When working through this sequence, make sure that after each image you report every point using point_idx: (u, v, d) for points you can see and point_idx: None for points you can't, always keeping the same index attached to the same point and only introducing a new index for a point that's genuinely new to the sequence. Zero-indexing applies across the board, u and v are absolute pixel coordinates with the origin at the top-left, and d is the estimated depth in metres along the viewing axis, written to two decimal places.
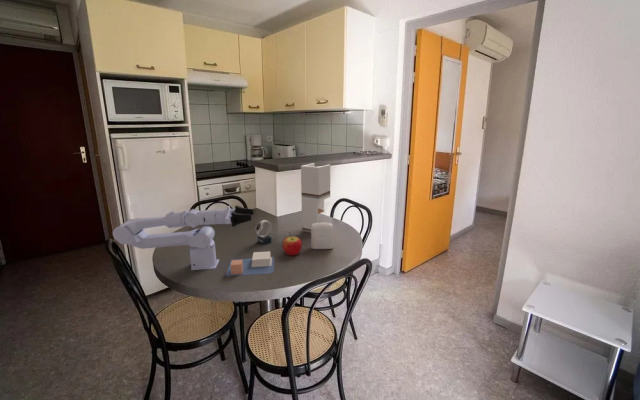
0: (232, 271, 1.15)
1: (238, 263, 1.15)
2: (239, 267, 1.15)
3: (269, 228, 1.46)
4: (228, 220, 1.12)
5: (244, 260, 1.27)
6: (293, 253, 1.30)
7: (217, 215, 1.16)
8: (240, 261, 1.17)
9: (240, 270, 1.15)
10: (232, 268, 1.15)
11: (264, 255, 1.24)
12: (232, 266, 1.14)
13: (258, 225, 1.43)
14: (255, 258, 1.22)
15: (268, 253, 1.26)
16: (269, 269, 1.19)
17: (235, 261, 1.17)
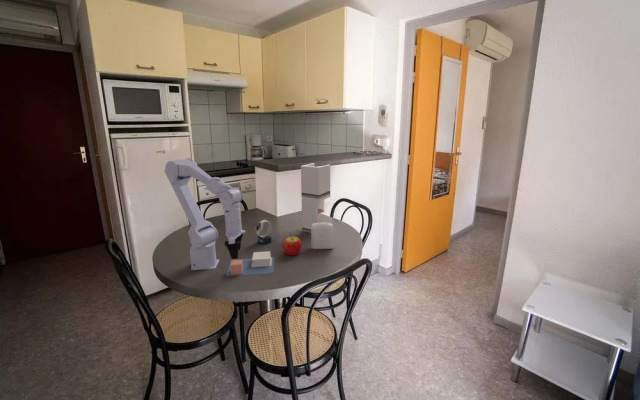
0: (232, 271, 1.15)
1: (238, 263, 1.15)
2: (239, 267, 1.15)
3: (269, 228, 1.46)
4: (232, 242, 1.06)
5: (244, 260, 1.27)
6: (293, 253, 1.30)
7: (235, 224, 1.10)
8: (240, 261, 1.17)
9: (240, 270, 1.15)
10: (232, 268, 1.15)
11: (264, 255, 1.24)
12: (232, 266, 1.14)
13: (258, 225, 1.43)
14: (255, 258, 1.22)
15: (268, 253, 1.26)
16: (269, 269, 1.19)
17: (235, 261, 1.17)
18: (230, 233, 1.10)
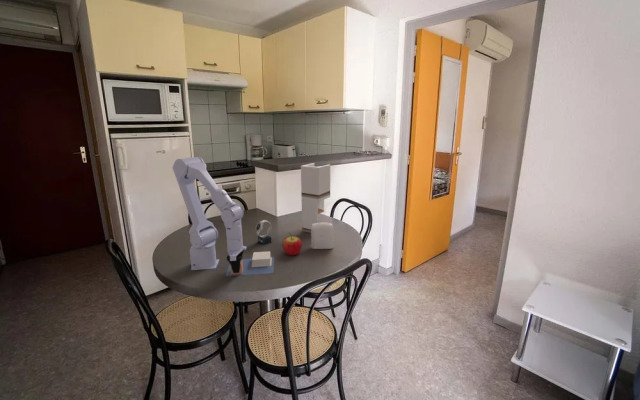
0: (232, 271, 1.15)
1: None
2: None
3: (269, 228, 1.46)
4: (233, 259, 1.08)
5: (244, 260, 1.27)
6: (293, 253, 1.30)
7: (237, 241, 1.11)
8: None
9: (240, 270, 1.15)
10: None
11: (264, 255, 1.24)
12: None
13: (258, 225, 1.43)
14: (255, 258, 1.22)
15: (268, 253, 1.26)
16: (269, 269, 1.19)
17: None
18: (231, 250, 1.12)
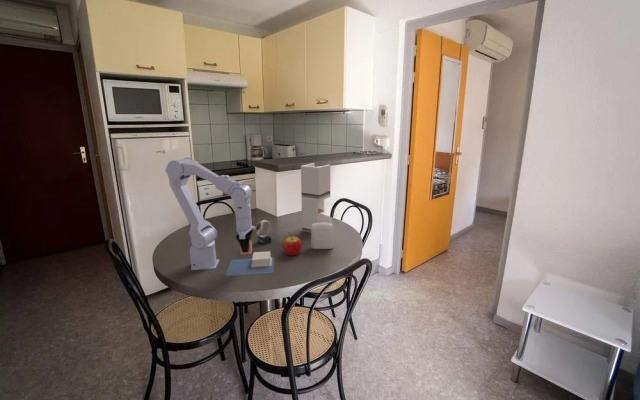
0: (241, 251, 1.16)
1: None
2: None
3: (269, 228, 1.46)
4: (243, 237, 1.09)
5: (244, 260, 1.27)
6: (293, 253, 1.30)
7: (246, 220, 1.13)
8: (249, 241, 1.18)
9: (249, 250, 1.16)
10: None
11: (264, 255, 1.24)
12: None
13: (258, 225, 1.43)
14: (255, 258, 1.22)
15: (268, 253, 1.26)
16: (269, 269, 1.19)
17: None
18: (241, 229, 1.13)
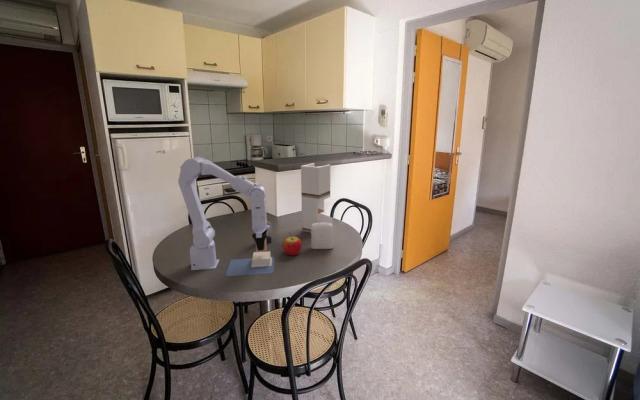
0: (257, 249, 1.21)
1: None
2: None
3: (269, 228, 1.46)
4: (259, 236, 1.14)
5: (244, 260, 1.27)
6: (293, 253, 1.30)
7: (262, 219, 1.18)
8: None
9: (264, 248, 1.22)
10: None
11: (264, 255, 1.24)
12: None
13: None
14: (255, 258, 1.22)
15: (268, 253, 1.26)
16: (269, 269, 1.19)
17: None
18: (257, 228, 1.18)
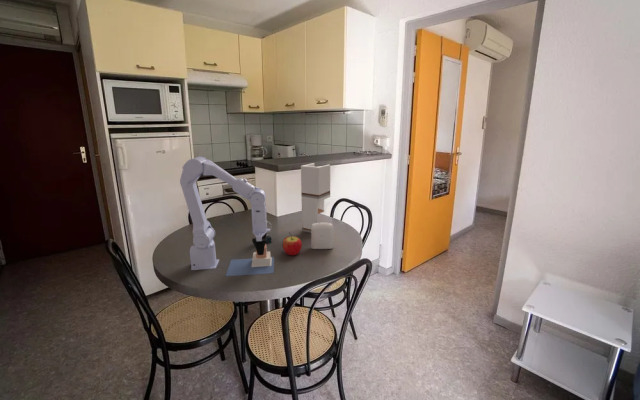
0: (257, 255, 1.22)
1: None
2: (264, 251, 1.22)
3: (269, 228, 1.46)
4: (260, 239, 1.15)
5: (244, 260, 1.27)
6: (293, 253, 1.30)
7: (262, 223, 1.18)
8: None
9: (265, 254, 1.22)
10: None
11: None
12: None
13: None
14: (255, 258, 1.22)
15: (268, 253, 1.26)
16: (269, 269, 1.19)
17: None
18: (257, 231, 1.19)
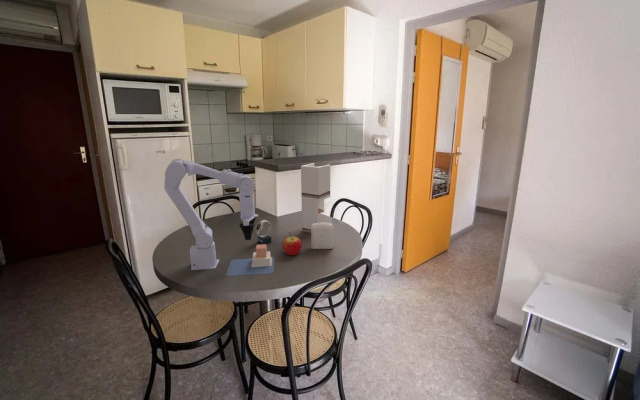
0: (257, 255, 1.22)
1: (263, 247, 1.22)
2: (264, 251, 1.22)
3: (269, 228, 1.46)
4: (246, 224, 1.18)
5: (244, 260, 1.27)
6: (293, 253, 1.30)
7: (249, 208, 1.21)
8: (264, 245, 1.24)
9: (265, 254, 1.22)
10: (257, 252, 1.22)
11: None
12: (257, 250, 1.21)
13: (258, 225, 1.43)
14: (255, 258, 1.22)
15: (268, 253, 1.26)
16: (269, 269, 1.19)
17: (260, 245, 1.24)
18: (244, 216, 1.21)
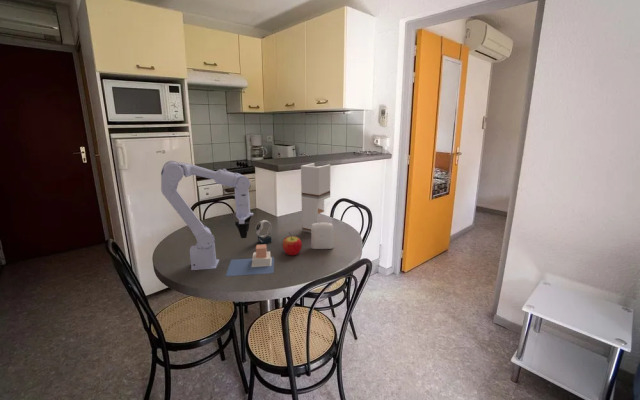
0: (257, 255, 1.22)
1: (263, 247, 1.22)
2: (264, 251, 1.22)
3: (269, 228, 1.46)
4: (242, 222, 1.19)
5: (244, 260, 1.27)
6: (293, 253, 1.30)
7: (245, 207, 1.23)
8: (264, 245, 1.24)
9: (265, 254, 1.22)
10: (257, 252, 1.22)
11: None
12: (257, 250, 1.21)
13: (258, 225, 1.43)
14: (255, 258, 1.22)
15: (268, 253, 1.26)
16: (269, 269, 1.19)
17: (260, 245, 1.24)
18: (240, 215, 1.23)
